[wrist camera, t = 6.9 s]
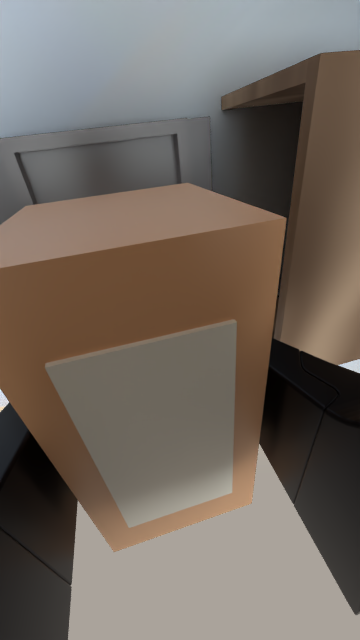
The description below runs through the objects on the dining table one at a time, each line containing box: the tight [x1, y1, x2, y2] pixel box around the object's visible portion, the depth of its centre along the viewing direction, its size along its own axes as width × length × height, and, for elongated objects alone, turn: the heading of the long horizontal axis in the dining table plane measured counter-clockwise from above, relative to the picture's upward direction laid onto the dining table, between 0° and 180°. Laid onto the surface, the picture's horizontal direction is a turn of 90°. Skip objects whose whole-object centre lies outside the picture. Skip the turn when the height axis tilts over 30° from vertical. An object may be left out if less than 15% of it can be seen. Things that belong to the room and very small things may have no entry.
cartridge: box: [0, 183, 287, 552], centre depth 8 cm, size 9×4×5 cm, turn 6°
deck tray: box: [0, 116, 212, 225], centre depth 16 cm, size 14×15×5 cm
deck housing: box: [221, 50, 360, 365], centre depth 17 cm, size 14×15×8 cm
